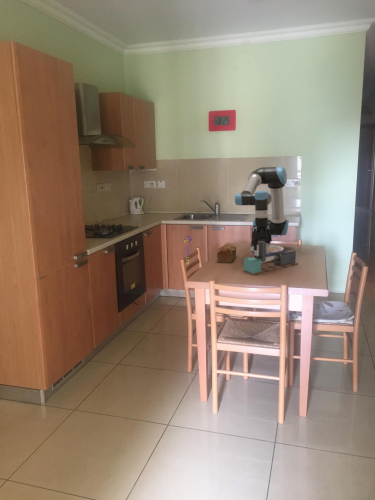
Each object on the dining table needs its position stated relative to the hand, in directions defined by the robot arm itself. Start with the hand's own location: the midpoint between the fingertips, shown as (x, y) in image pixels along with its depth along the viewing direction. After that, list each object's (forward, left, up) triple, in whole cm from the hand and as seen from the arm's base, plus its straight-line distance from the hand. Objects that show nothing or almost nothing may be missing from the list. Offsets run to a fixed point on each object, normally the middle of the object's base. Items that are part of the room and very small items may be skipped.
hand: (261, 254), depth 239 cm
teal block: (+7, 0, -9) cm, 12 cm away
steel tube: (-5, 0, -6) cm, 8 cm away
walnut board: (-8, 0, -10) cm, 13 cm away
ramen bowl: (-24, -20, -10) cm, 33 cm away
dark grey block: (-20, 0, -9) cm, 22 cm away
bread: (-2, -36, -11) cm, 38 cm away
